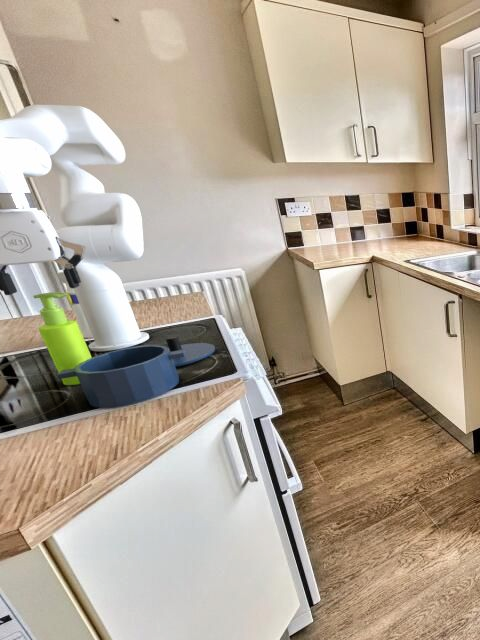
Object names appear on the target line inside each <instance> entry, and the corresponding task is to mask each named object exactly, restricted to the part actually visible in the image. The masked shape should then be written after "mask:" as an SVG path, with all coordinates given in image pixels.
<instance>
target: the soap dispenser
mask: <svg viewBox="0 0 480 640" xmlns="http://www.w3.org/2000/svg"><path fill="white" fill-rule="evenodd" d="M67 295H68V294H66V292H65V293H64V292H58V291H57V292H56V291H55V292H44V293H38V294H35V295H33V298H34V299H39V300H40V302H41V305H42V306H43V308H42V309H40V310H39V313H40V315H41V318H42V321H43V322H44V325H41V326H39V327H38V328H37V329H38V331H39V334H40V337H41V338H42V341H43V343H44V344H45V347H46V349H47V351H48V353H49V355H50V358H51V360H52V362H53V364H54V366H55V368H56V370H57V373H58V374H59V373H60V372H61V371H62V370H67V369H73V368H75V367H76V366H77V365H78V364H80V363H82V362H84V361H86V360H88V359H90V358H93V357H92V355H91V351H90V349H89V346H88V345H87V343H86V341H85V338H84V337H83V335H82V333H81V330H80V327H79V324H78V322H77V320H68V318H67V316H66V313H65V311H64V309H63V307H62V306H58V305H56V304H55V301H54V299H60V298H64V297H67ZM61 382H62V384H63V385H64V386H75V385H76V386H77V385H81V384H80V381H79V379H78V377H77V376H75V377H69V378H63V379H61Z"/></svg>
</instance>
